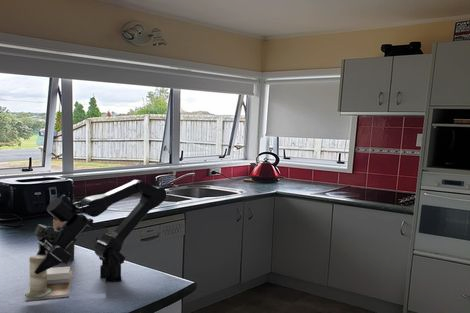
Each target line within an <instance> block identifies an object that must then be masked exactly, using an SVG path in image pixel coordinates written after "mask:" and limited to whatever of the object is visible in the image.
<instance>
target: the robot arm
mask: <svg viewBox="0 0 470 313" xmlns="http://www.w3.org/2000/svg"><path fill="white" fill-rule="evenodd" d="M137 193H138V194H141V195H140V200H139V202H138V204H136V206H135V207H134V208H133V209H132V210H131V211H130V213H129V214H128V215H127V216H126V217H125V218H124V219H123V220H122V222H121V223H120V224H118V226H117V227H116V228H115V230H114V231H112V232H111V233H109V234H108V233H106V232H104V233H103V234H102V235H101V237H100V238H99V239H98V240H96V244H95V246H94V254H95V256H97V257H98V259H99V260H100V261H101V264H100V266H99V268H100V269H99V270H100V273H99V274H100V275H99V277H100V279H105V283H115V282H121V281H122V264H124V263H125V260H126V256H124V255H123V254H122V253H121V251H122V249H123V245H124V242H125V240H126V239H127V238H128V236H130V234H131V233H132V232H133V231H134V230H135V228H136V227H137V226H138V225H139V224H140V222H141V221H142V220H143V219H144V218H145V217H146V216H147V214H148V213H149V212H150V211H152V210H154V209H155V208H157V207H159V206H160V205H161V204H162V203H164V202H165V200H166V199H167V193H166V189H164V188H163V187H161V186H160V187H159V186H155V185H150V184H149V183H146V182H145V181H143V180H140V179H133V180H131V181H130V182H127V183H125V184H123V185H121V186H119V187H117V188H114V189H111V190H109V191H107V192H105V193H101V194H94V195H90V196H89V195H88V196H86V197H84V198H82V199H81V200H80V201H76V202H72V201H71V200H70V199H69V198H68V197H67V196H66V195H65V194H61V195H60V196H59V197H57V198H55V199H54V200H53V201H51V202H50V203H49V204H48V205H47V207H46V211H47V212H48V213H49V214H50V215H51V216H52V217H53V216H54V217H55V218H56V219H57V220H59V221H60V222H64V221H66V222H65V223H64V225H63V226H62V227H60V226H58V227H57V228H56V229H54V228H53V226H50V225H48V226H47V225H45V224H40V223H39V224H37V226H36V228H35V231H34V232H33V234H34V235H35V236H36V237H37V238H36V239H37V240H38V241H39V242H37V244H38V251H37V253H36V255H45V258H44V259H43V260H42V262H41V263H40V265H39V266H38V267H37V269H36V270H35V273H36V274H39V273H41V272H43V271H45V270H47V269H49V268H55V266H57V265H60V264H65V265H68V264H69V263H71V262H70V260H71V255H70V254H69V253H68V252H67V249H66V248H67V247H68V246H69V245H70V244H71V242H72V241H74V242H75V243H76V242H77V237H78V236H79V235H80V234H81V232H83V230H84V229H85V228H86V227H87V226H88V227H90V228H91V229H94V219H92V218H96V217H99V216H100V215H102V214H103V213H104V212H106V211H107V210H108V208H110V207H111V206H113V204H114V205H115V204H116V203H118V202H120V201H123V200H125V199H126V198H127V199H128V198H129V197H131V196H133V195H135V194H137ZM77 212H79V213H80V214H78V213H77ZM85 215H86V216H85ZM87 216H90V217H92V218H88V217H87ZM62 261H63V262H64V263H63V262H62Z"/></svg>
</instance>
